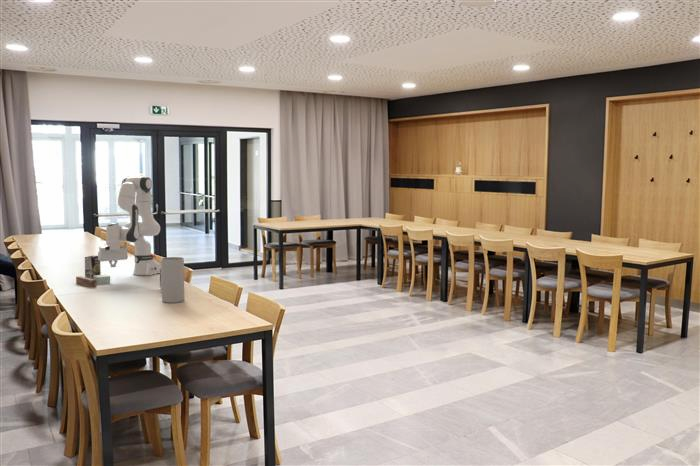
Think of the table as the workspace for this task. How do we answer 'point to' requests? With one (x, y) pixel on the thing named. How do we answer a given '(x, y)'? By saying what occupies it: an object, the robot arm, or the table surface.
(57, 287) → the table surface
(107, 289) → the table surface
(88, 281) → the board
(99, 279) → the block
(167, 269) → the cylinder vase
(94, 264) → the coffee box
